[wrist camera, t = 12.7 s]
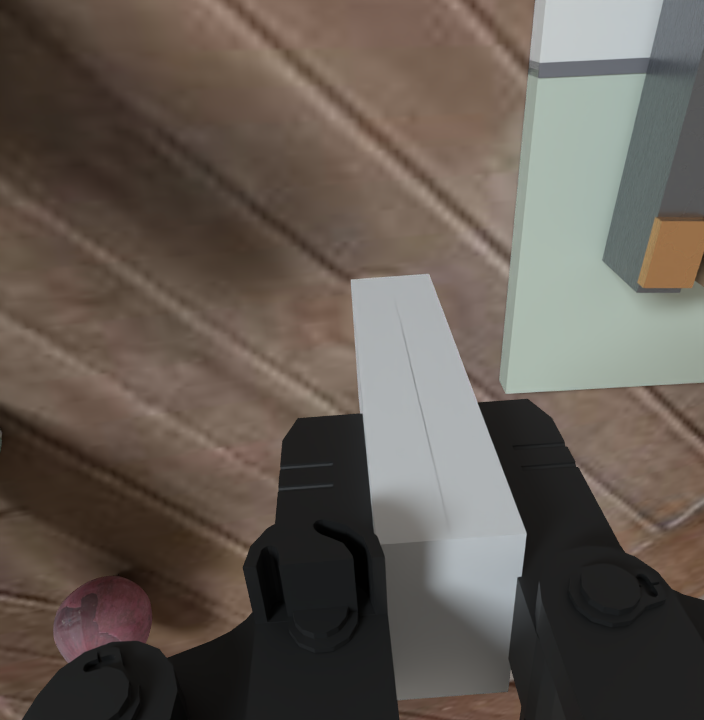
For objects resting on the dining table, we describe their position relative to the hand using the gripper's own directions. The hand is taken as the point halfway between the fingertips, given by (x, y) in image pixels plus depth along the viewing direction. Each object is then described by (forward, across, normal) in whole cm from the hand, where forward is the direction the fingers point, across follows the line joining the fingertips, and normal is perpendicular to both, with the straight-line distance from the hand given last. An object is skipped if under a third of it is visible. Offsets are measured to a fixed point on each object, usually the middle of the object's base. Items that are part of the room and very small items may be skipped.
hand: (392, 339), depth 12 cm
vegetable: (+20, +18, +29) cm, 40 cm away
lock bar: (+18, -14, -2) cm, 23 cm away
